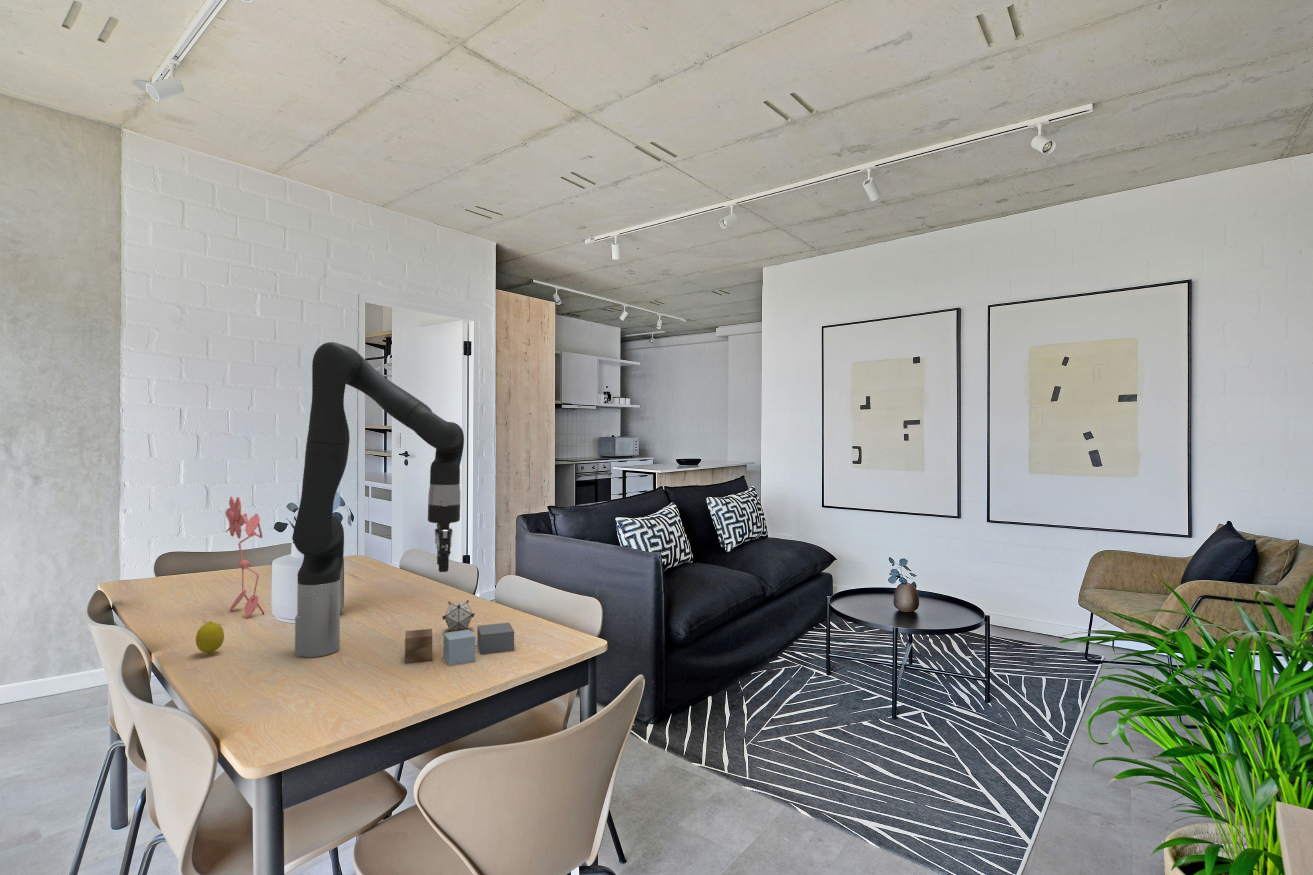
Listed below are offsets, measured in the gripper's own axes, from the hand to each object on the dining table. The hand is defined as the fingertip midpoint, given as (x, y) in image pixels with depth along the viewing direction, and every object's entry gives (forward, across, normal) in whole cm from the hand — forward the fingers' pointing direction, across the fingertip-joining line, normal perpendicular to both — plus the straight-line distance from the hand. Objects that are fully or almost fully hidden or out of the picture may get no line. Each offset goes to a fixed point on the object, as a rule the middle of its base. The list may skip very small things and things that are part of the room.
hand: (442, 568), depth 155 cm
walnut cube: (+20, +4, -5) cm, 21 cm away
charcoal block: (+20, +2, +13) cm, 24 cm away
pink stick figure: (+22, -52, -55) cm, 79 cm away
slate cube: (+20, +8, +4) cm, 22 cm away
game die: (+21, -15, +5) cm, 26 cm away
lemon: (+22, -16, -52) cm, 58 cm away
